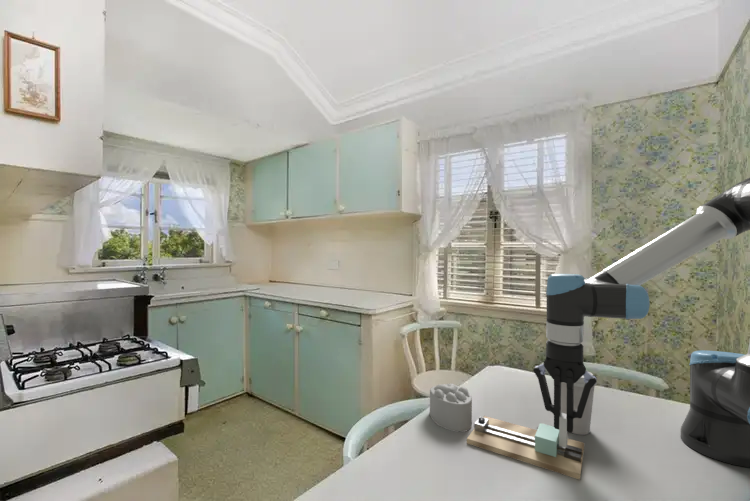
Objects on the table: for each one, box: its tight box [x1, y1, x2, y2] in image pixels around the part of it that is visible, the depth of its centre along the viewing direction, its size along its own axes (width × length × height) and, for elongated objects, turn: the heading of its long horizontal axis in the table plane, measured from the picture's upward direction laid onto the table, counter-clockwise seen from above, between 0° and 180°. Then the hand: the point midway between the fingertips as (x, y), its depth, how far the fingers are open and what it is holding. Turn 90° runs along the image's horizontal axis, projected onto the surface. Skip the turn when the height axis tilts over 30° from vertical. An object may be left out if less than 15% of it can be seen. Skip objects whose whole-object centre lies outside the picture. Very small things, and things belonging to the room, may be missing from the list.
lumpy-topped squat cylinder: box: [429, 383, 473, 432], centre depth 97 cm, size 10×13×9 cm
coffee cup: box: [561, 370, 598, 436], centre depth 93 cm, size 10×10×15 cm
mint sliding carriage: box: [535, 422, 559, 457], centre depth 82 cm, size 4×7×4 cm, turn 146°
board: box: [466, 415, 585, 480], centre depth 84 cm, size 24×14×1 cm, turn 56°
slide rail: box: [473, 416, 582, 462], centre depth 84 cm, size 24×4×2 cm, turn 56°
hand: (563, 443), depth 80 cm, fingers closed
